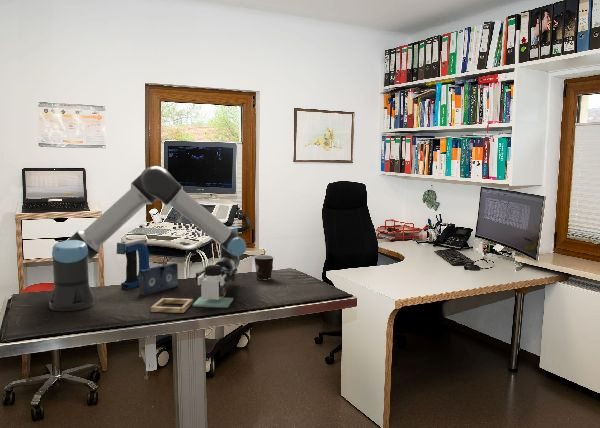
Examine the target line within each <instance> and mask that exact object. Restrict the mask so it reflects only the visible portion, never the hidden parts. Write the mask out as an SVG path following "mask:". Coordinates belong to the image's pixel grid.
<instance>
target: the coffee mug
mask: <svg viewBox="0 0 600 428" xmlns="http://www.w3.org/2000/svg"><path fill="white" fill-rule="evenodd" d="M273 262H274V256H273V255H265V254H263V255H262V254H261V255H256V256H254V264H255V265H254V267H255V275H256V279H257V278H259V279H268V278H271V279H272V273H273V272H272V271H273V268H274V265H273Z"/></svg>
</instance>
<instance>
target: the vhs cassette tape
mask: <svg viewBox="0 0 600 428" xmlns="http://www.w3.org/2000/svg"><path fill="white" fill-rule="evenodd" d="M178 269H179V268H178V263H176V262H173V263H168V264H163V265H158V266H153V267H149V269H143V270H139V269H138V273H139V285H140V286H139V295H141V296H146V295H150V294H155V293H158V292H161V291H165V290H170V289H172V288H176V287H178V286H179V282H178V281H179V274H178V273H179V272H178V271H179V270H178Z"/></svg>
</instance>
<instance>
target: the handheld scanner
mask: <svg viewBox="0 0 600 428" xmlns="http://www.w3.org/2000/svg"><path fill="white" fill-rule="evenodd" d="M147 242H148V241H147V239H146V238H139V239H134V240H130V241H127V242H117V243H116V254H117V255H125V257H126V264H125V265H126V266H125V277H126V278H125V280H124V281H123V282H121V284H120V286H121V287H120V288H121V289H123V290H133V289H134V288H137V286H138V287H140V286H139V272H138V271H139V270H143V269H149V268H150V255H149V248H148V246H147ZM137 254H138V258H137Z"/></svg>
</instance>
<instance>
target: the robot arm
mask: <svg viewBox="0 0 600 428" xmlns="http://www.w3.org/2000/svg"><path fill="white" fill-rule="evenodd" d="M156 201H160V202H161V203H163V204H164V205H165V206H171V207H172V208H173V209H174V210H176V211H177V212H178V213H179V214H180V215H182V216H183V217H185V219H187V220H188V221H189V222H190V223H192V224H193V225H194V226H195V227H197V228H198V229H199V230H201V232H202V233H204V234H205V235H206V236H208V237H209V238H211V239H212V241H214V242H215V243H217V244H218V245H219V246H220V247H219V249H220V250H219V254H220V255H219V256H220V257H219V259H218V260H217V262H216V263H214V265H219V266H221V278H220V286H223V285H224V283H225V284H226V283H228V282H230V281H232V282H235V280H236V277H237V276H238V268H239V266H240V262H241V261H240V256H242V255H244V253H245V252H246V251H247V243H246V241H245V239H243V238H242V237H240V236H239V233H238V232H239V231H238V228H237V227H236V226H227V225H225V223H223V222H222V221H221V220H220V219H218V218H217V217H216V216H215V215H214V214H213V213H212V212H210V211H209V210H207V208H205V207H204V206H203V205H202V204H200V203H199V202H198V200H195V198H193V197H192V196H190V194H188V193H187V192H186V191H185V190H184V189H183V185H181V183H179V182H178V181H177V180H176V179H175V178H174V177H173V176H172V174H171V173H170V172H169V171H168V170H167V169H166V168H164V167H162V166H159V165H151V166H148V167H146V168H144V169H143V171H142V172H141V174H139V176H137V177H136V178H135V179H134V180H133V181H131V183H130V189H129V190H128V191H126V192H125V193H124V194H123V195H122V196H120V198H119V199H118V200H116V201H115V202H114V203H113V204H112V205H111V206H110V207H109V208H107V209H106V210H105V211H103V212H102V214H101V215H100V216H98V218H97V219H95V220H94V221H93V222H92V223H91V224H90V225H88V226H87V228H85V229H84V230H77V231H76V232H74V234H72V235H71V236H70V237H69V238H68V239H67V240H63V241H60V242H59V241H58V242H56V243H55V244H54V245H53V246H52V250H51V256H52V267H53V268H52V269H53V271H52V272H53V273H52V274H53V275H52V276H53V289H52V293H51V295H50V299H49V301H48V302H49V309H50V310H52V311H55V312H74V311H80V310H81V311H82V310H85V309H88V308H91V307H93V306H94V305H95V304H96V303H95V302H96V301H95V296H94V293H93V291H92V289H91V286H90V282H89V281H90V279H89V263H90V262H91V260H93V259H94V258H95V257H96V256H97V255H98V254H100V252H101V246H103V244H105V243H106V242H107V241H108V240H109V239H110V238H111V237H112V236H113V235H114V234H116V233H117V231H118V230H120V229H121V228H122V227H123V226H124V225H125V224H127V222H129V221H130V220H131V219H132V218H133V217H134V216H135V215H136V214H137V213H138V212H140V211H141V209H144V207H145V206H146V205H153V204H154V203H155V202H156ZM204 278H206V277H205V267H204V268H203V269H201V270H199V271H197V272H196V273H195V280H196V281H197V286H200V285H201V280H203V279H204Z"/></svg>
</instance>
